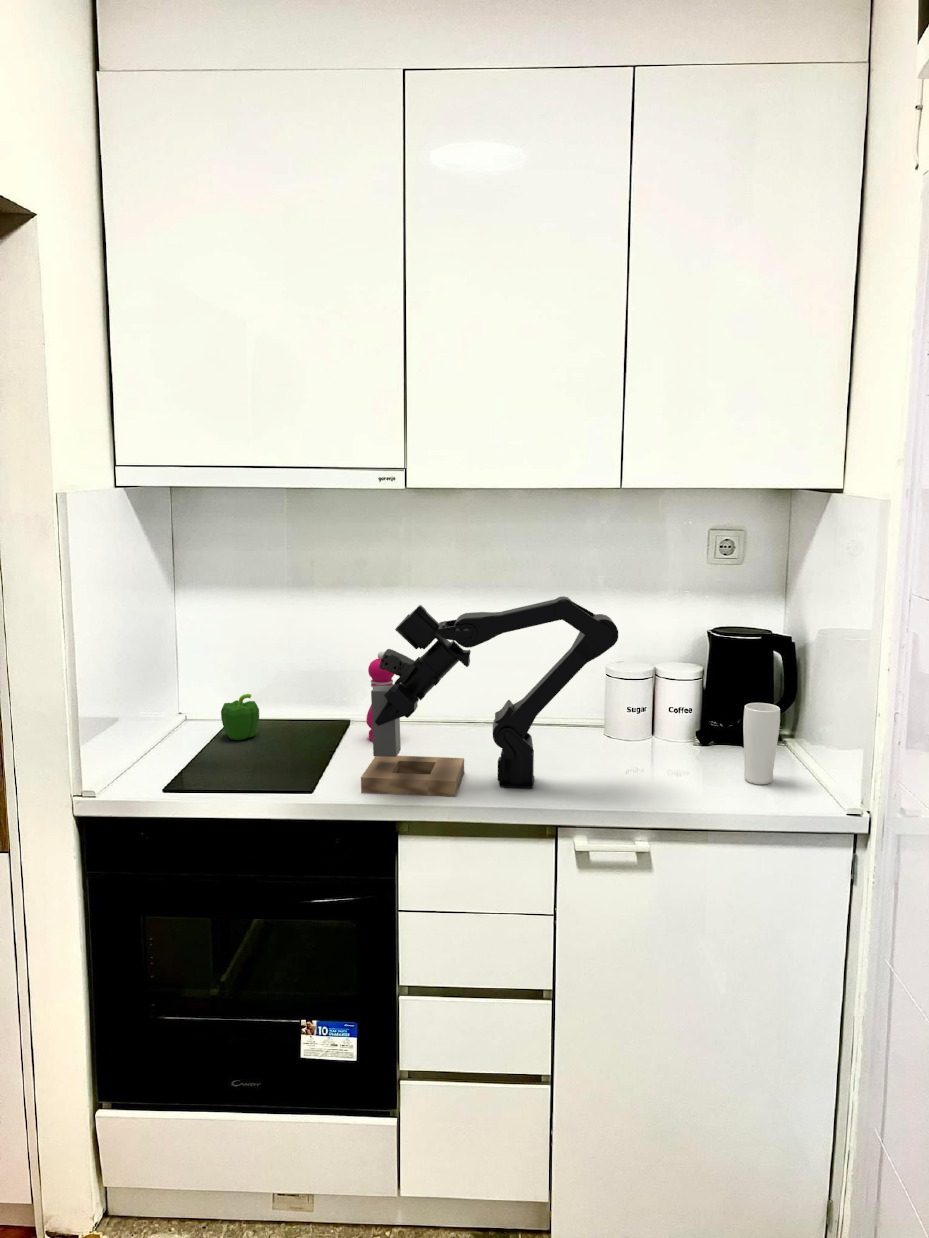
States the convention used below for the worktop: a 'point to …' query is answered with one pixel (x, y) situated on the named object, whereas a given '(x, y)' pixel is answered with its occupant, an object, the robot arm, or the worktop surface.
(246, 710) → the bell pepper
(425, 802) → the worktop surface
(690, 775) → the worktop surface
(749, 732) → the drinking glass
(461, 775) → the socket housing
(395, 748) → the plug block
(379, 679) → the pepper mill
